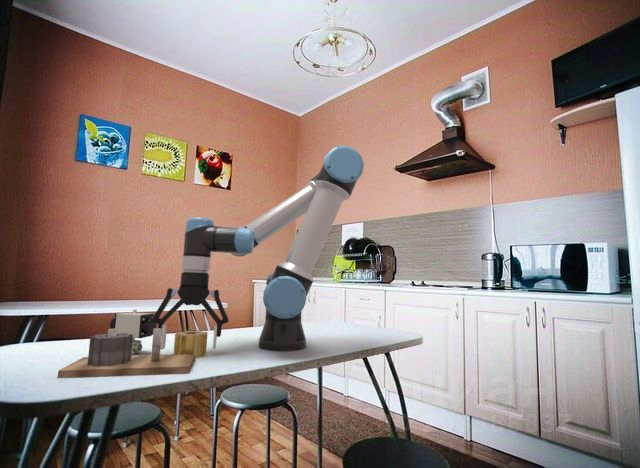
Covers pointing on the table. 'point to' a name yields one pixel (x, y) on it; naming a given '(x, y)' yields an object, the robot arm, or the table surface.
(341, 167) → the robot arm
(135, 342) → the pneumatic valve
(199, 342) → the brass gear
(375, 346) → the table surface
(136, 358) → the gear board
